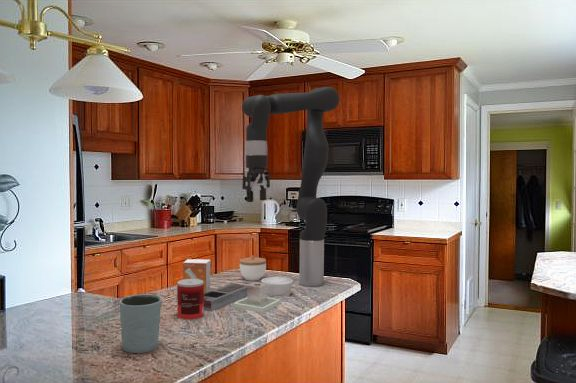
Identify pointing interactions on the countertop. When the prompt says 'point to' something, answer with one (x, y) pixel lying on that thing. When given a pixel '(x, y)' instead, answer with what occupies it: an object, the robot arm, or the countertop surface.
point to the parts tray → (242, 305)
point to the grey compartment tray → (224, 296)
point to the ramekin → (278, 285)
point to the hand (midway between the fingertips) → (256, 201)
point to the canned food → (190, 298)
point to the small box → (197, 271)
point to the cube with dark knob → (257, 294)
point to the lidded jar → (252, 268)
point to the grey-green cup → (140, 322)
